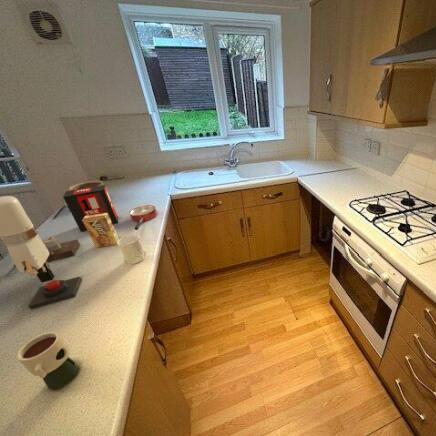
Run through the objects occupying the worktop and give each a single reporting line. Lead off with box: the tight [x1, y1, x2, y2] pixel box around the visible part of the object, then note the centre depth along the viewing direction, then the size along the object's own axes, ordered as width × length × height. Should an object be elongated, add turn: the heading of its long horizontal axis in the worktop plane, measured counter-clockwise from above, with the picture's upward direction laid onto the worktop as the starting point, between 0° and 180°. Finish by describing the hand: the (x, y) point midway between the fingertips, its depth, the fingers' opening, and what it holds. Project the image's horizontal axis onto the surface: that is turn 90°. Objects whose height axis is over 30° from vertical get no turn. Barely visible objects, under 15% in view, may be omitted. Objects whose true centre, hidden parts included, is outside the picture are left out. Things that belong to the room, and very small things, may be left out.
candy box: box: [82, 213, 120, 249], centre depth 111 cm, size 9×4×15 cm, turn 110°
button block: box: [28, 276, 83, 310], centre depth 86 cm, size 12×10×4 cm
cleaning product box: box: [62, 184, 119, 233], centre depth 128 cm, size 16×9×20 cm, turn 123°
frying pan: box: [129, 204, 158, 231], centre depth 130 cm, size 32×13×6 cm, turn 29°
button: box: [44, 279, 61, 291], centre depth 85 cm, size 4×4×2 cm
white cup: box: [116, 234, 145, 265], centre depth 101 cm, size 8×8×10 cm
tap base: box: [47, 239, 81, 263], centre depth 107 cm, size 14×10×3 cm
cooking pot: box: [68, 180, 109, 193], centre depth 156 cm, size 25×19×12 cm
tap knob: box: [42, 236, 61, 252], centre depth 105 cm, size 4×4×5 cm
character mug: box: [16, 331, 80, 390], centre depth 58 cm, size 11×7×13 cm, turn 33°
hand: (48, 279), depth 83 cm, fingers closed
